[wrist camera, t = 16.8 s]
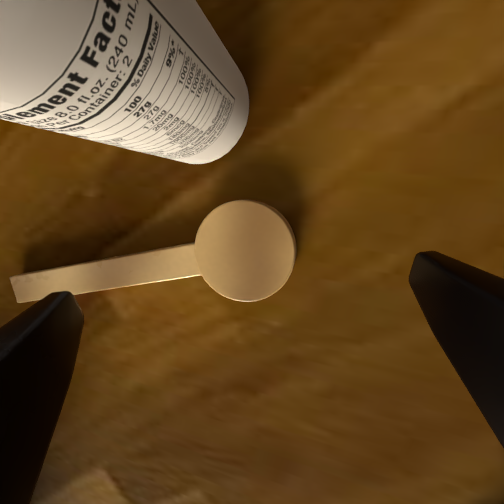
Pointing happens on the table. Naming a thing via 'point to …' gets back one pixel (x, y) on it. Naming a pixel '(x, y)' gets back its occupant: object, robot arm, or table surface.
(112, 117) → the energy drink can
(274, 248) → the wooden spoon
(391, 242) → the table surface
